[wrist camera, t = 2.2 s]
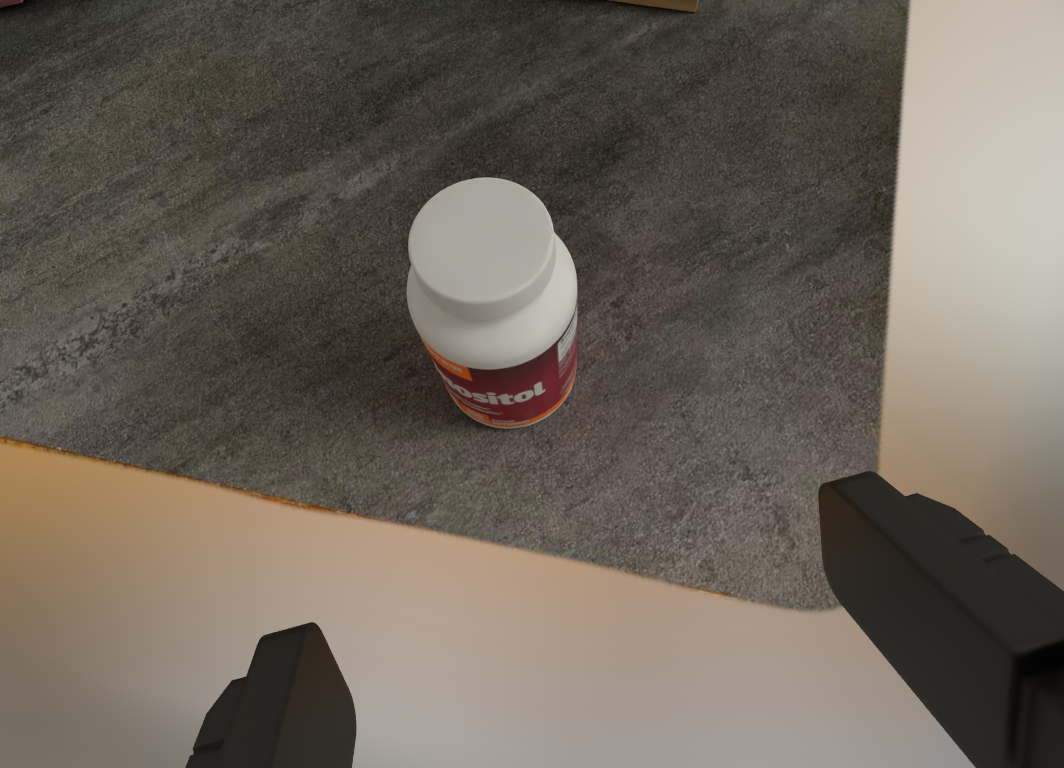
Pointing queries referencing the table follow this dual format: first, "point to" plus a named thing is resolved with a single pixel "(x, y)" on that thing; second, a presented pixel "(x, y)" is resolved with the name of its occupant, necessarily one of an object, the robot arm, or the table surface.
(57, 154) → the table surface
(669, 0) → the board
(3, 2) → the apple
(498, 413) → the pill bottle
